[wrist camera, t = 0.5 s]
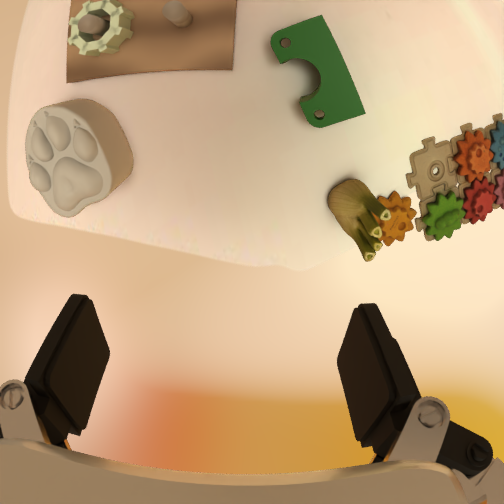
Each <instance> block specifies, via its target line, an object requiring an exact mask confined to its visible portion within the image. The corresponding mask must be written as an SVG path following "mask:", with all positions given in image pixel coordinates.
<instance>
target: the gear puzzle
mask: <svg viewBox="0 0 504 504" xmlns="http://www.w3.org/2000/svg"><path fill="white" fill-rule="evenodd" d="M502 116H503V115H502V113H499V114H496V115H493V120H494V123H493V124H490V125H488V126H486V127H485V129H483V128H478V129H475V130H472V124H471V123H467V124H464V125H462V126H460V129H461V130H462V134H461V135H459V136H456V137H453V138H452V139H451V140H450V142H449V141H447V140H445V141H442V142H439V143H437V144H435V137H430V138H426V139H424V140H422V144H423V145H424V148H423V149H421V150H418V151H416V152H413V153H412V154H411V155H410V163H411V167H412V173H407V174H406V179H407V183H408V187H409V188H410V189H411V188H412V187H413V186H414V185H415V186H416V190H417V191H416V193H417V197H418V198H419V199H420V202H419V208H420V213H421V217H419V218H415V225H416V229H417V231H418V232H420V231H421V230H422V229H423V231H424V237H425V239H426V240H427V241H431V240H434V239H435V240H436V241H439V240H440V239H442V237H443V236H444V235H445V236H446V237H447V238H450V237H451V236H452V234H453V231H454V230H457V229H459V228H461V224H462V223H463V224H467V223H469V222H471V224H475V223H476V222H477V221H478V220H479V219H480V220H481V221H484V220H485V218H486V215H487V213H491V212H492V211H493V208H494V209H497V208H499V207H501V208H502V209H504V120H502ZM435 167H437V168H438V171H437V173H436V174H433V169H434V168H435ZM490 169H492V170H491V172H490V173H489V172H488V171H490ZM457 182H458V183H459V185H458V188H457V187H456V185H457ZM378 201H380V202H381V203H382V204H383V205H384V206H385V207H386V208H387V209H389V211H390V213H391V219H389V221H387V220H386V221H385V220H381V219H379V218H378V217H377V216H376V215H375V214H374V213H373V212H372V214H373V216H374V217H375V219H376V221H377V222H378V224H379V226H380V228H381V231H382V236H381V238H378V239H379V240H380V241H382V240H383V242H384V243H385V245H386V246H390V245H391V244H392V243H393V241H394V240H395V239H396V240H398V241H403V239H404V237H405V232H407V231H410V230H412V229H413V228H414V227H413V224H412V222H411V220H412V219H413V218H414V217H415V215H416V213H417V212H416V211H415V210H414V209H412V208H410V206H411V199H410V197H404V198H402V199H401V198H400V196H399V194H398V193H397V192H396V191H394V192H393V193H392V195H391V196H390V198H389V199H386V198H385V197H382V196H379V198H378Z"/></svg>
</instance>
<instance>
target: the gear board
mask: <svg viewBox="0 0 504 504" xmlns="http://www.w3.org/2000/svg"><path fill="white" fill-rule="evenodd" d="M87 1H89V0H71V7H70V16H69V22H70V19H71V17H74V18H75V17H76V16H77V14H78V13H79V12H80V11H81V10H82V9H83V5H82V4H84V3H85V2H87ZM90 1H93V2H98V1H102V0H90ZM116 1H118V2H120V3H122V4H123V5H122V7H124V8H126V9H128V10H130V11H132V12H133V14H134V17H135V18H133V19H131V25H130V31H133V35H132V37H131V39H130V38H126V39H125V40H124V41H123V42H122V43H121V45H120V46H119V51H118V52H116V53H114V54H109V53H100V55H99V56H89V55H82V54H79V51H80V49H79V48H78V47H77V46H72V45H69V43H67V83H72V82H78V81H83V80H89V79H95V78H102V77H108V76H116V75H124V74H133V73H144V72H156V71H173V70H232V64H233V48H234V32H235V18H236V4H237V0H116ZM110 17H111V15H105V16H102V17H101V18H99V17H97V16H94V15H91V14H87V15H84V16H83V17H81V19H80V20H79V22H78V29H79V31H81V32H85V33H90V34H93V39H94V40H96V41H97V40H100V39H101V38H102V37H103V35H104V34H105V33H106V32H107V31H108V30H109V29H110ZM71 26H72V25H69V28H68V38H69V37H71Z"/></svg>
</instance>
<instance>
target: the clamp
mask: <svg viewBox="0 0 504 504" xmlns="http://www.w3.org/2000/svg"><path fill="white" fill-rule="evenodd" d="M285 38H288V39H289V40H290V41H291V44H290V46H289V47H287V48H284V47H282V45H281V41H282V40H283V39H285ZM271 47H272V49H273V50H274V52H275V54H276V56H277V58H278V60H279V62H280V64H282V63H285V62H287V61H288V60H290V59H293V58H300V59H304V60H307V61H309V62H311V63H312V64H313V65H314V66H315V67H316V68H317V69H318V71H319V73H320V76H321V81H320V85H319V87H318V88H317V90H316V91H315V92H313V93H312V94H310V95H308V96H303V97H301V99H300V102H299V103H300V105H301V108H302V110H303V112H304V114H305V116H306V119H307V121H308V122H309V123H310V124H311V125H312V126H314V127H317V128H322V127H326V126H329V125H332V124H335V123H338V122H341V121H344V120H347V119H350V118H354V117H357V116H360V115H363V114H366V113H365V110H364V108H363V105H362V102H361V100H360V97H359V95H358V92H357V90H356V87H355V85H354V82H353V80H352V78H351V75H350V73H349V71H348V68H347V66H346V64H345V62H344V59H343V57H342V55H341V53H340V51H339V48H338V46H337V44H336V42H335V40H334V38H333V36H332V34H331V32H330V30H329V28H328V26H327V24H326V22H325V20H324V18H323V16H322V15H320V16H317V17H314V18H311V19H308V20H305V21H303V22H300V23H297V24H294V25H292V26H289V27H287V28H284V29H282V30H279V31H277V32H275V33H274V34H273V36H272V37H271ZM316 110H322V111H323V112H324V116H322V117H317V116H315V114H314V112H315V111H316Z"/></svg>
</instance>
